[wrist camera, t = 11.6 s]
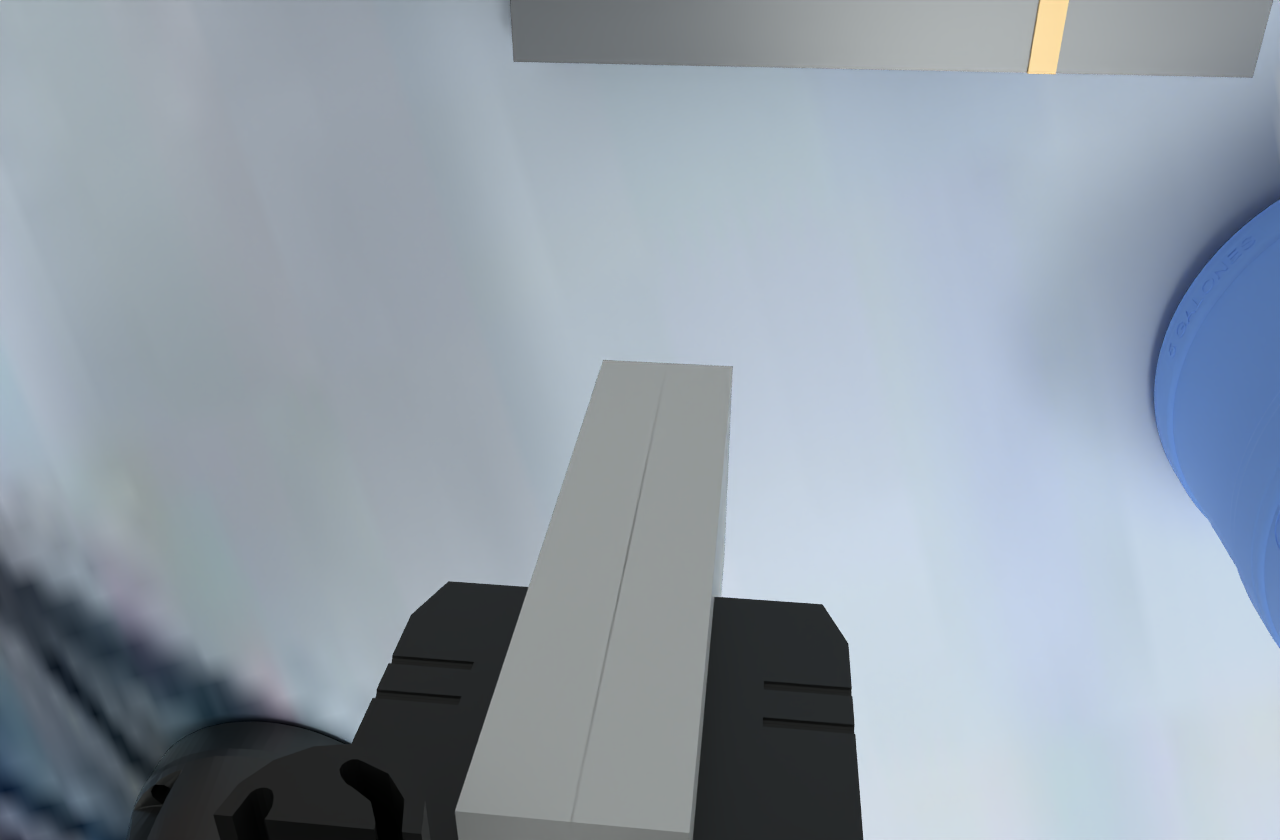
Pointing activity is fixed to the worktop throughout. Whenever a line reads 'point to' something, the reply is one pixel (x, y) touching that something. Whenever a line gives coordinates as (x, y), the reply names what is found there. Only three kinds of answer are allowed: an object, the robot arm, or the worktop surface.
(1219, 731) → the worktop surface
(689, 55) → the console
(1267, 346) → the water jug
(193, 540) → the worktop surface
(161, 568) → the worktop surface
